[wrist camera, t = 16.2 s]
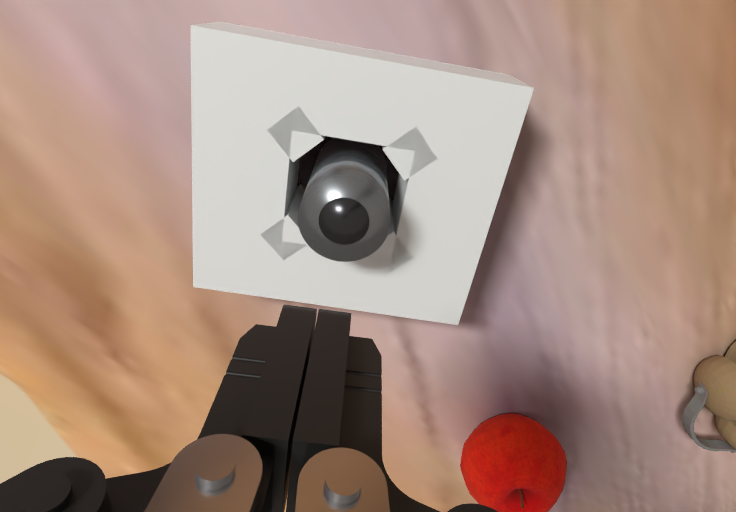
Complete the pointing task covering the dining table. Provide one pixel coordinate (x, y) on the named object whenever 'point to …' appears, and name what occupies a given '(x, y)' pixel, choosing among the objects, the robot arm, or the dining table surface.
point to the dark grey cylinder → (346, 201)
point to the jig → (351, 122)
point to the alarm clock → (715, 400)
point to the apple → (513, 465)
